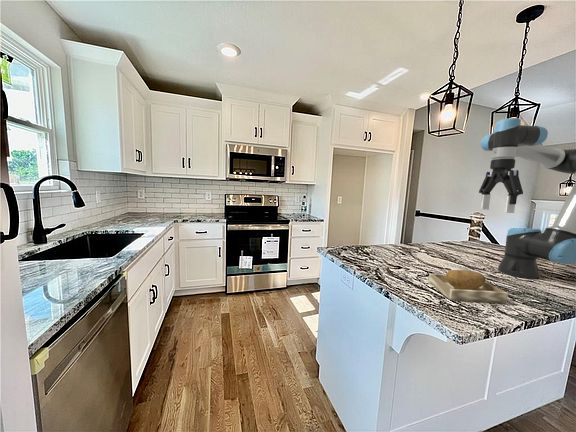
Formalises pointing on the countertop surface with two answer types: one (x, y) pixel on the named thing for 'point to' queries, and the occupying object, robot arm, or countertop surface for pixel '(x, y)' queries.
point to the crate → (468, 291)
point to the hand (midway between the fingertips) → (496, 211)
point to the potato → (465, 279)
